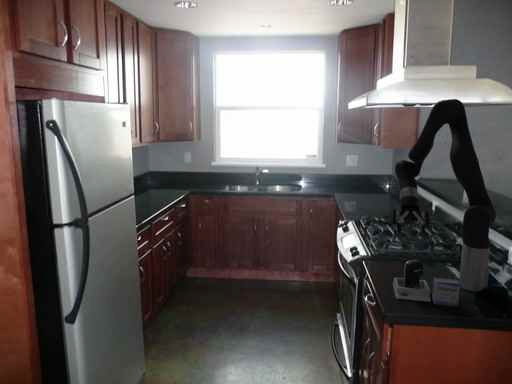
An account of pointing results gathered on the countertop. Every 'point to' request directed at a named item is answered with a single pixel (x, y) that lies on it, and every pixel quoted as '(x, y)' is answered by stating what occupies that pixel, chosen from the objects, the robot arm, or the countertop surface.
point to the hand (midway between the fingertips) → (411, 233)
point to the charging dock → (411, 291)
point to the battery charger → (412, 274)
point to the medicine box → (445, 292)
